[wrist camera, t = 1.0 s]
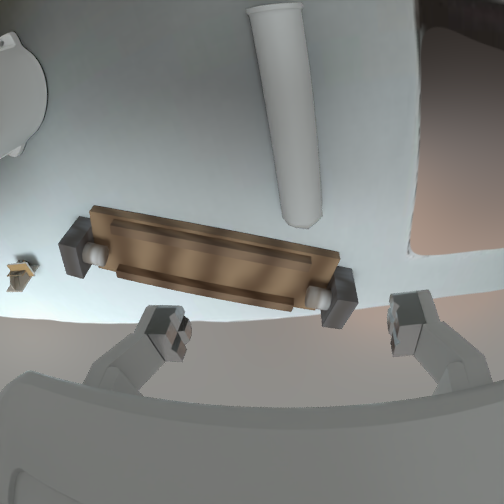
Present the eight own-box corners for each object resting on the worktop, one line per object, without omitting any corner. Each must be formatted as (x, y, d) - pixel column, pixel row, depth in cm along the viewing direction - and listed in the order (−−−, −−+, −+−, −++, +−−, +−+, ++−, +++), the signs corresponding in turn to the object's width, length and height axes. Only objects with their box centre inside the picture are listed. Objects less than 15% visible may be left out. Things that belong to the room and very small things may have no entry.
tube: (332, 230, 36) (312, 1, 20) (289, 242, 36) (252, 5, 20) (314, 207, 40) (290, 6, 24) (275, 218, 40) (239, 11, 24)
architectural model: (15, 252, 50) (-4, 278, 44) (35, 249, 49) (15, 277, 43) (24, 265, 52) (6, 291, 46) (44, 263, 51) (25, 291, 45)
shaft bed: (87, 257, 48) (70, 285, 43) (77, 202, 41) (54, 229, 36) (331, 305, 50) (334, 338, 45) (358, 256, 43) (366, 290, 38)
